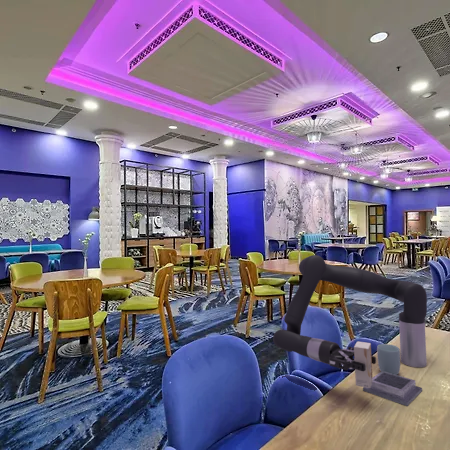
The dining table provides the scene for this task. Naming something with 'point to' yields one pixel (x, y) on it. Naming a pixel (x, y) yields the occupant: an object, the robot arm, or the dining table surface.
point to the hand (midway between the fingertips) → (370, 364)
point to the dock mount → (394, 388)
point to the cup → (388, 358)
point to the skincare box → (363, 356)
